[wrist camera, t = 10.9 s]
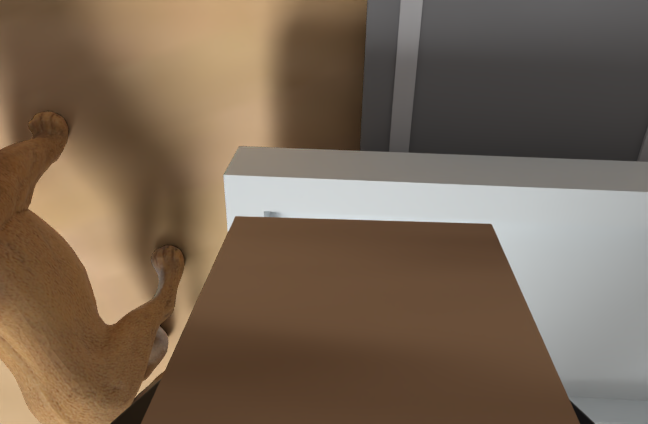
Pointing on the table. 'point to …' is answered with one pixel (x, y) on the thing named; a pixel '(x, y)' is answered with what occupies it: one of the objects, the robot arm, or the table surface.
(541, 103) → the track mat
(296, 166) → the white rimmed tray
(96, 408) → the lion figurine
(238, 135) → the table surface
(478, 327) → the brown wooden block
